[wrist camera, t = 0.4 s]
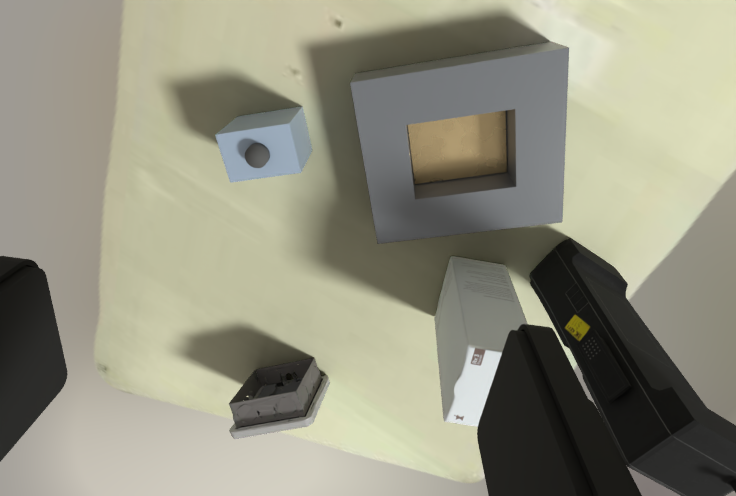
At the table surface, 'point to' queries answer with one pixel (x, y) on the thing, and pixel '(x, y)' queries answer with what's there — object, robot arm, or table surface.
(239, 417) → the electrical switch
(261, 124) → the plug
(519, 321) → the skincare box
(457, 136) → the socket block
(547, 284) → the portable radio
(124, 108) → the table surface
